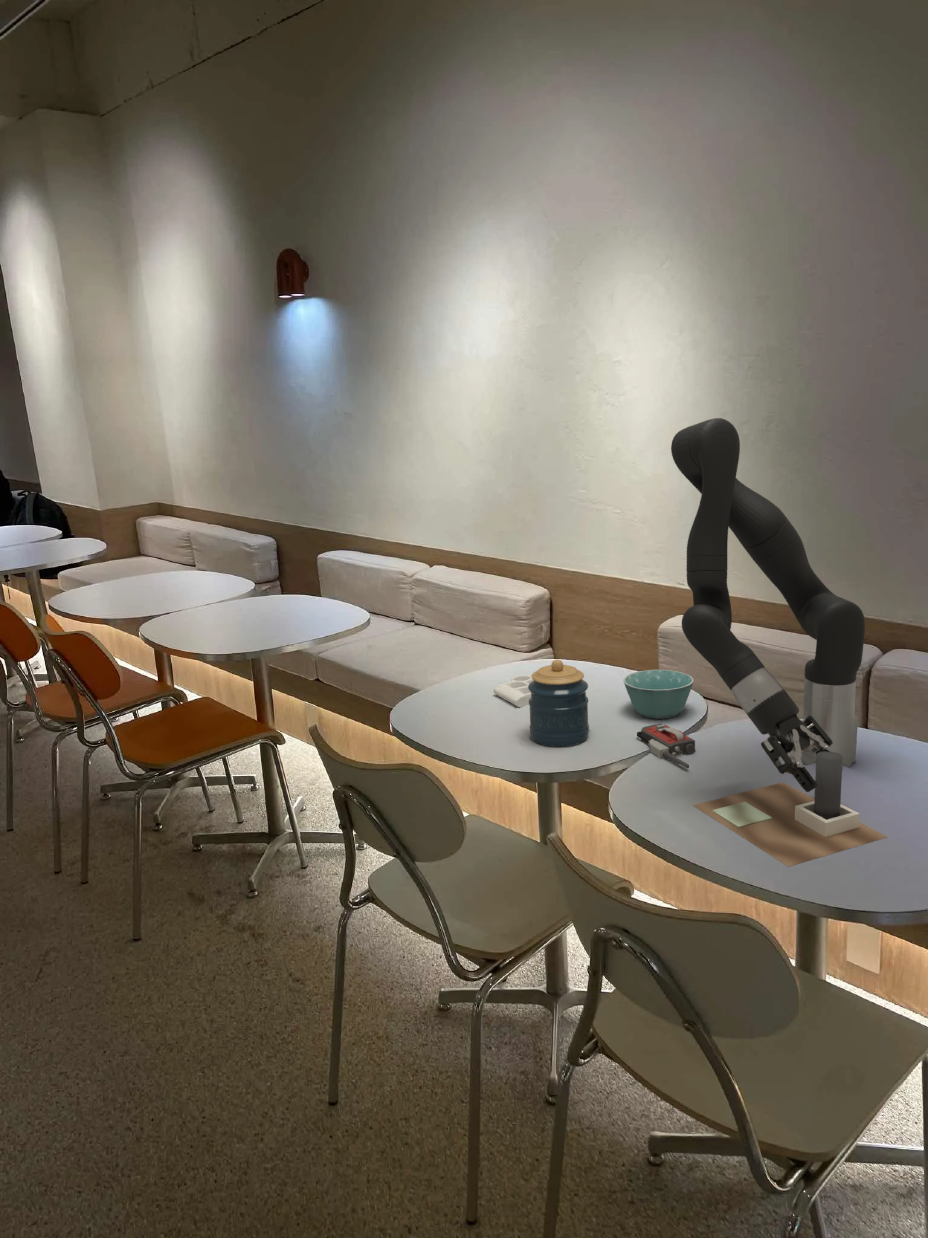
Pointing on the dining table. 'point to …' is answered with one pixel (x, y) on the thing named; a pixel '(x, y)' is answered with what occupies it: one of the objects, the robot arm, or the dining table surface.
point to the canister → (558, 706)
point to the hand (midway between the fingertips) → (825, 781)
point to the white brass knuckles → (516, 690)
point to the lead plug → (828, 784)
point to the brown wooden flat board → (781, 824)
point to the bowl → (658, 692)
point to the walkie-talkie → (667, 742)
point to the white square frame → (830, 826)
